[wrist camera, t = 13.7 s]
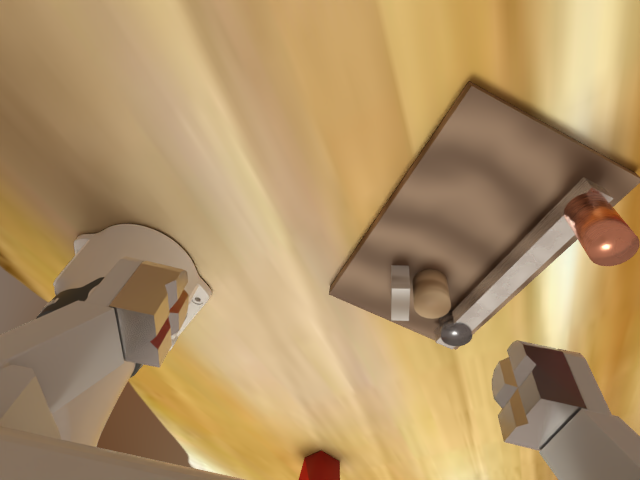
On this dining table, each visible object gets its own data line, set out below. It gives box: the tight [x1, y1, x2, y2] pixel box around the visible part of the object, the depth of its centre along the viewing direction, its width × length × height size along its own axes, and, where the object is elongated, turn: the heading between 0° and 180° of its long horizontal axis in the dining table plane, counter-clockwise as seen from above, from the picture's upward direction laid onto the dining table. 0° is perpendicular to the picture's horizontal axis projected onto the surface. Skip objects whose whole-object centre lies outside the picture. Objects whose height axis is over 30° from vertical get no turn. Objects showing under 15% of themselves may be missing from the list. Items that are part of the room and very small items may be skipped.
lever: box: [434, 177, 639, 349], centre depth 43 cm, size 24×4×8 cm, turn 156°
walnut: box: [412, 269, 451, 319], centre depth 48 cm, size 4×4×4 cm
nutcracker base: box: [329, 81, 640, 349], centre depth 45 cm, size 29×19×6 cm, turn 155°
